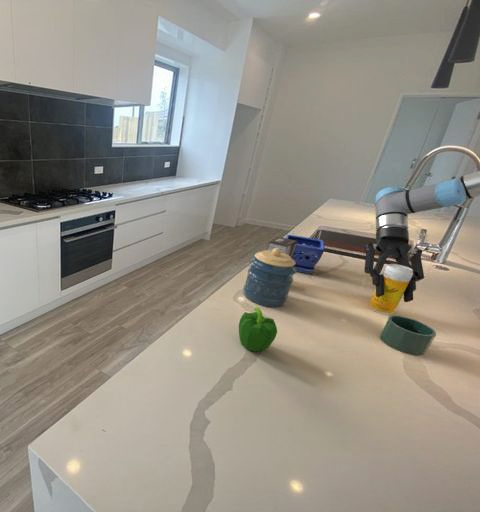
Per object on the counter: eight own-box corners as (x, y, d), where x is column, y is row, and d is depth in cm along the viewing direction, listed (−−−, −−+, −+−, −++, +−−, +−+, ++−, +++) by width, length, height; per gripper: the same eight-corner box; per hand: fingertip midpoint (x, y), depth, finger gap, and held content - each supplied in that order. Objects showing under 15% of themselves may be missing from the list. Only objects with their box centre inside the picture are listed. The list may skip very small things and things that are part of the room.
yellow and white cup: (363, 304, 98) (381, 262, 92) (383, 306, 97) (403, 264, 91) (376, 314, 92) (397, 270, 86) (398, 316, 91) (420, 272, 86)
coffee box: (267, 274, 116) (278, 235, 110) (285, 281, 112) (298, 240, 105) (257, 281, 110) (268, 240, 104) (276, 288, 106) (289, 246, 100)
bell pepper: (273, 360, 71) (284, 325, 68) (236, 351, 74) (245, 317, 70) (267, 339, 79) (278, 307, 75) (234, 332, 81) (242, 300, 77)
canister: (246, 284, 108) (258, 238, 101) (287, 295, 101) (303, 247, 94) (238, 299, 98) (251, 249, 91) (283, 312, 91) (301, 260, 84)
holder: (414, 339, 81) (424, 320, 79) (432, 359, 74) (444, 340, 71) (374, 330, 84) (382, 312, 82) (388, 349, 77) (398, 330, 74)
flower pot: (276, 268, 122) (284, 241, 117) (279, 258, 132) (286, 233, 127) (315, 277, 115) (325, 249, 110) (315, 266, 125) (324, 240, 120)
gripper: (421, 241, 97) (426, 309, 89) (350, 232, 103) (349, 294, 96) (439, 230, 90) (446, 302, 82) (361, 221, 97) (361, 287, 89)
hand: (394, 298), depth 89 cm, fingers closed on yellow and white cup, 6 cm apart
